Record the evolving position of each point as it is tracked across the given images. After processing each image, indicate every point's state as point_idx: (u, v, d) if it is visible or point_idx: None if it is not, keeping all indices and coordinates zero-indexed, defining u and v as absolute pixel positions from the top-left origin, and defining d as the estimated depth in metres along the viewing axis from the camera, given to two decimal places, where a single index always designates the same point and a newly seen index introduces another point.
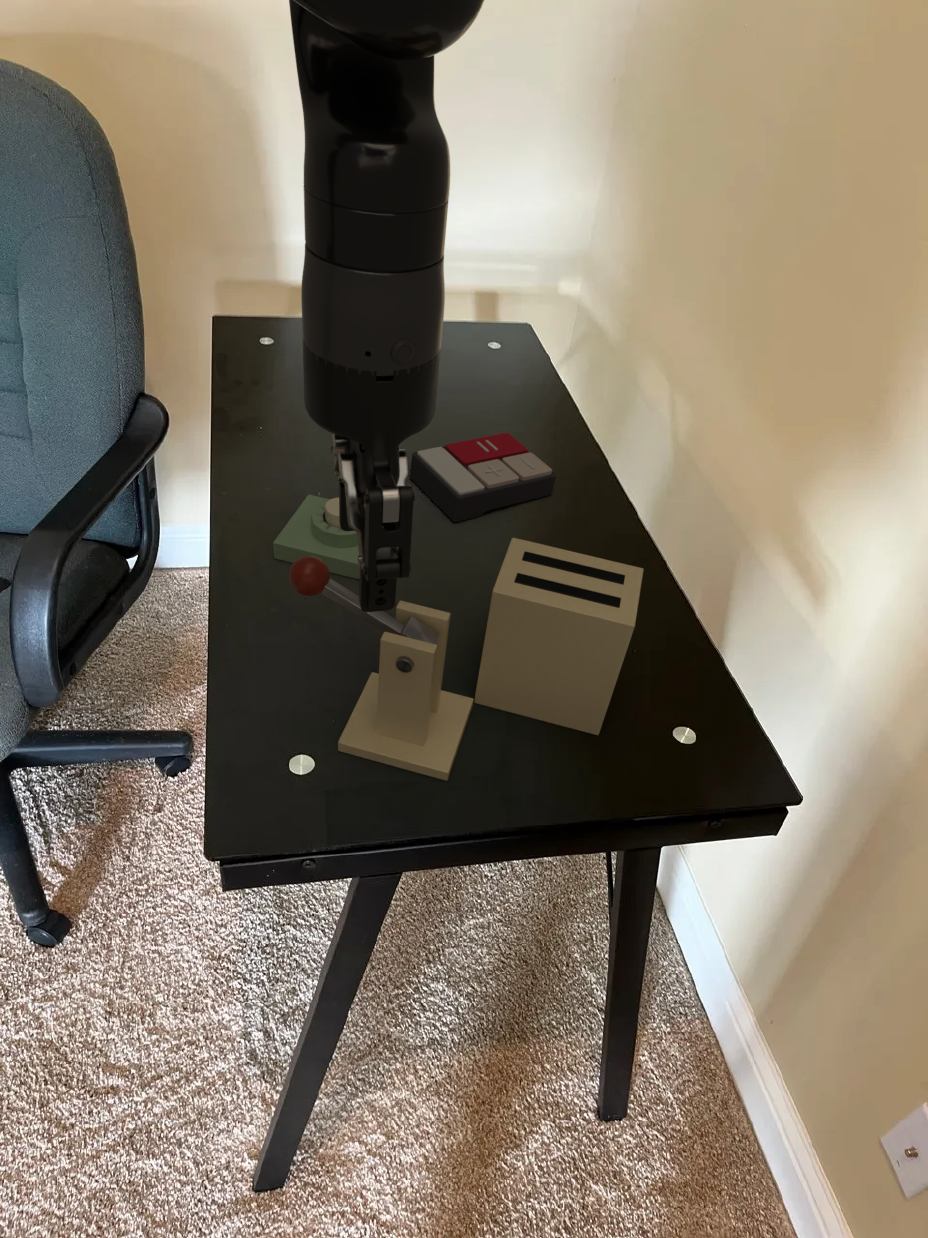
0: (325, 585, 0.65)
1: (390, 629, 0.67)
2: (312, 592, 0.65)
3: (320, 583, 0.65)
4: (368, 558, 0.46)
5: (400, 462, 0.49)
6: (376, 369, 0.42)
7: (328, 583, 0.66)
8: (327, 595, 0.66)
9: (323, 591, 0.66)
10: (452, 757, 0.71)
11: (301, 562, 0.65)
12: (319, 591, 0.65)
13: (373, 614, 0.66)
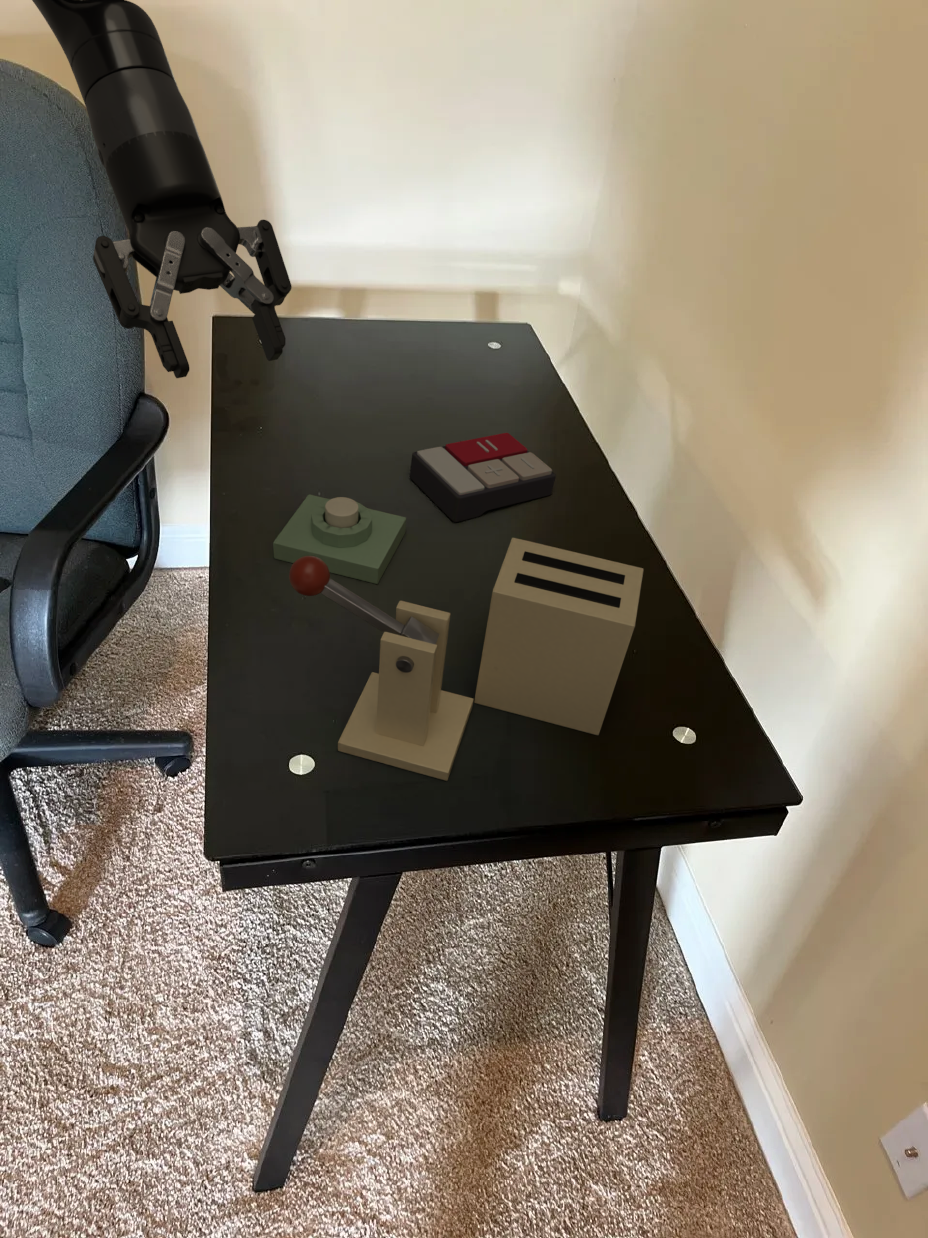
0: (325, 585, 0.65)
1: (390, 629, 0.67)
2: (312, 592, 0.65)
3: (320, 583, 0.65)
4: (285, 270, 0.66)
5: None
6: None
7: (328, 583, 0.66)
8: (327, 595, 0.66)
9: (323, 591, 0.66)
10: (452, 757, 0.71)
11: (301, 562, 0.65)
12: (319, 591, 0.65)
13: (373, 614, 0.66)
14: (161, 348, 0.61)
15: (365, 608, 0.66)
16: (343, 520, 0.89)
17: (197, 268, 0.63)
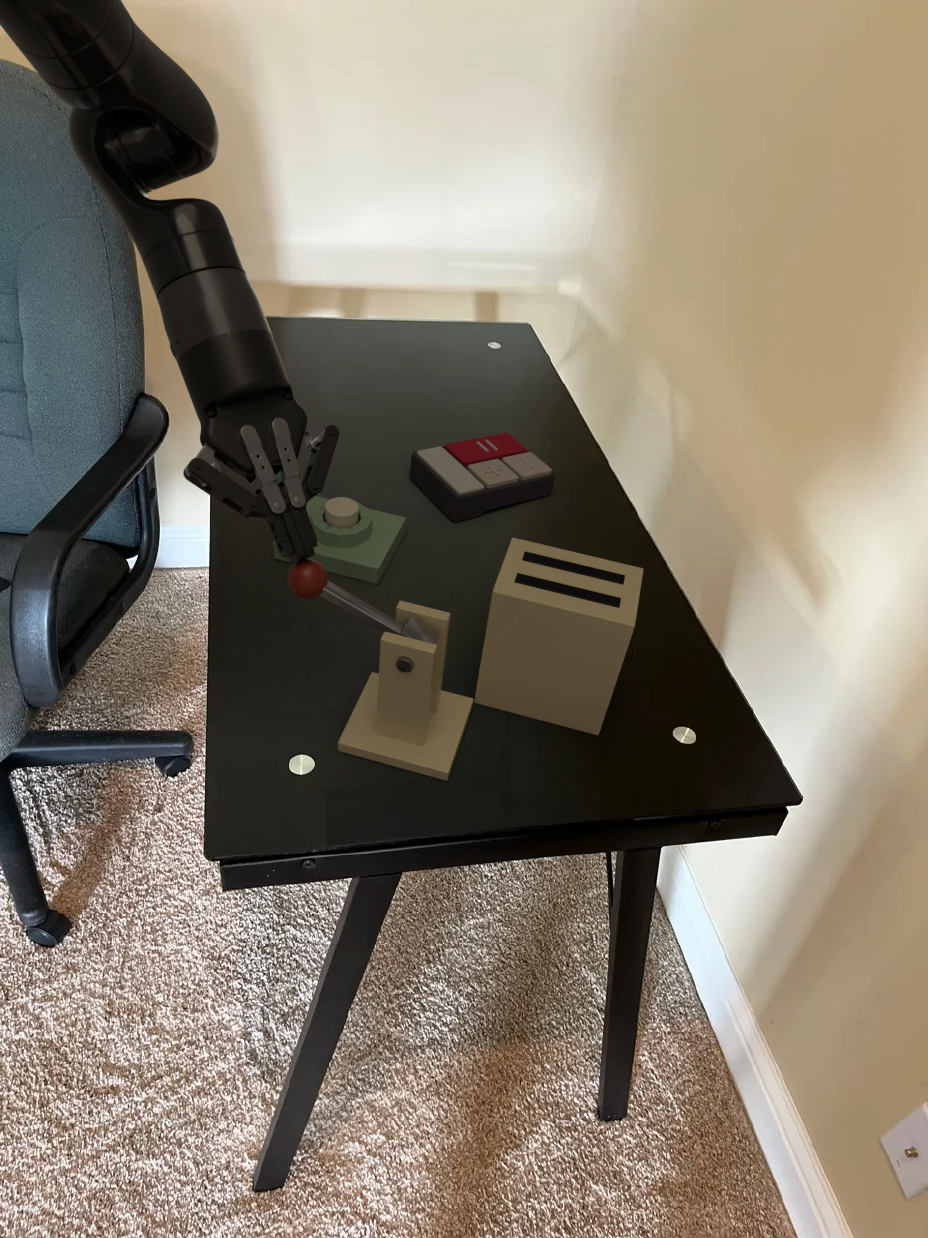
0: (323, 587, 0.65)
1: (389, 629, 0.67)
2: (310, 595, 0.65)
3: (318, 585, 0.65)
4: (326, 475, 0.65)
5: None
6: None
7: (326, 586, 0.66)
8: (326, 597, 0.66)
9: (321, 594, 0.66)
10: (452, 757, 0.71)
11: (299, 565, 0.65)
12: (317, 594, 0.66)
13: (372, 615, 0.66)
14: (279, 539, 0.64)
15: (364, 609, 0.66)
16: (343, 520, 0.89)
17: (267, 458, 0.63)
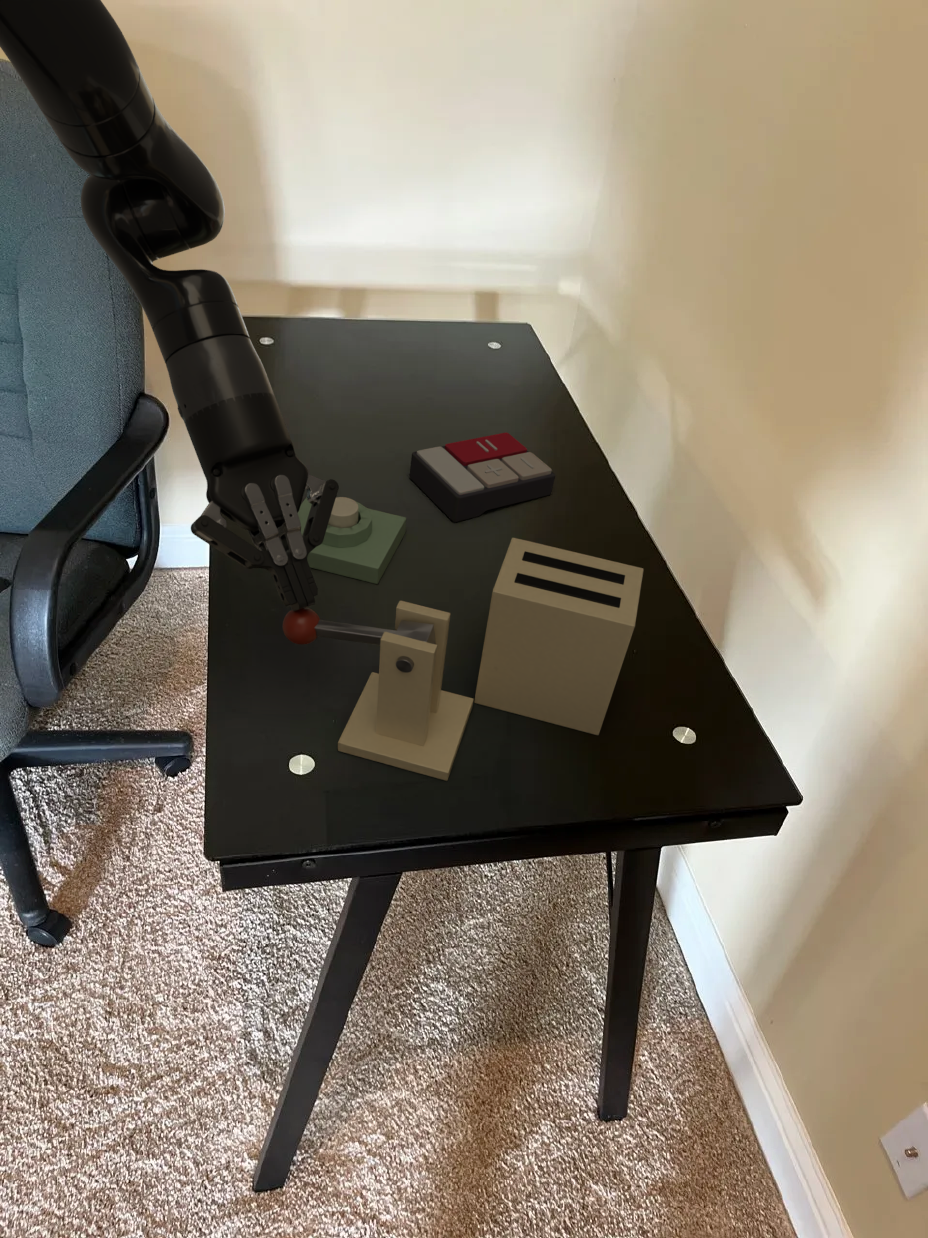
0: (314, 627, 0.69)
1: None
2: (305, 638, 0.69)
3: (307, 626, 0.68)
4: (326, 527, 0.69)
5: None
6: None
7: (317, 624, 0.69)
8: (322, 635, 0.69)
9: (317, 634, 0.69)
10: (452, 757, 0.71)
11: (286, 616, 0.69)
12: (312, 634, 0.69)
13: (365, 633, 0.68)
14: (282, 589, 0.67)
15: (356, 631, 0.68)
16: (343, 520, 0.89)
17: (270, 513, 0.67)
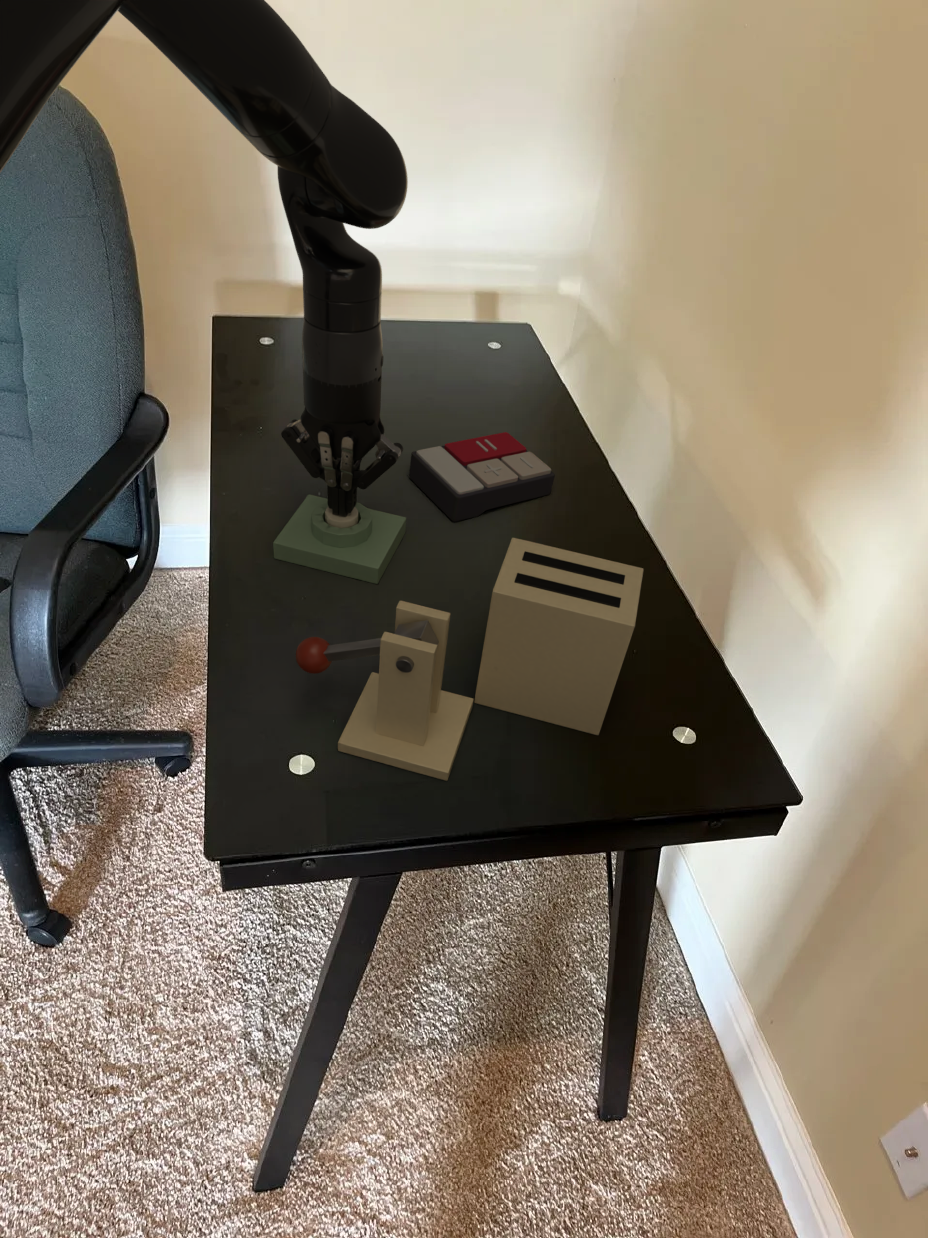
0: (323, 652, 0.70)
1: None
2: (317, 665, 0.70)
3: (316, 653, 0.70)
4: (372, 481, 0.85)
5: None
6: (377, 375, 0.78)
7: (326, 650, 0.71)
8: (332, 659, 0.71)
9: (328, 659, 0.71)
10: (452, 757, 0.71)
11: None
12: (322, 660, 0.70)
13: (368, 645, 0.69)
14: (328, 496, 0.89)
15: (360, 646, 0.69)
16: (343, 526, 0.90)
17: (336, 452, 0.84)
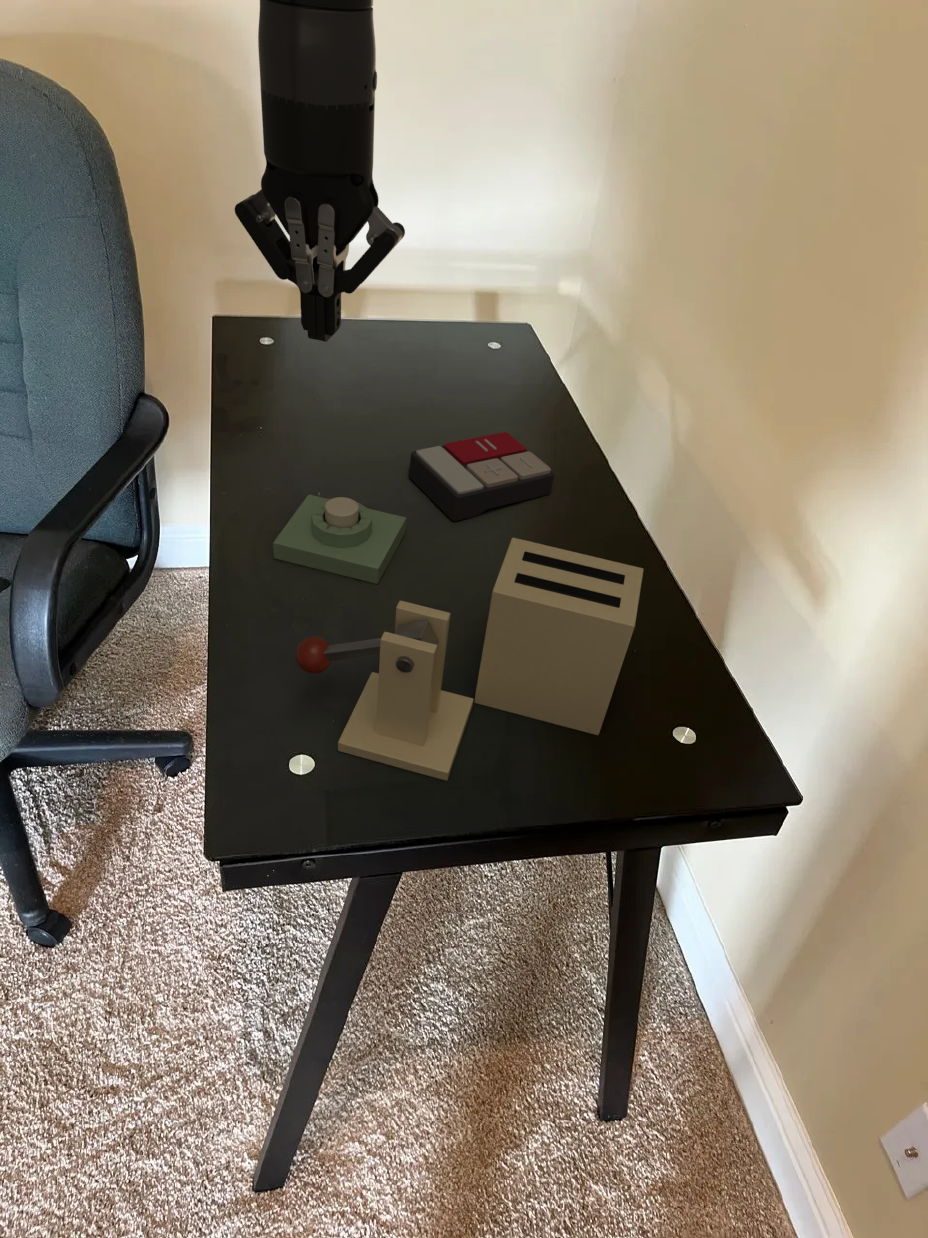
0: (323, 652, 0.70)
1: None
2: (317, 665, 0.70)
3: (316, 653, 0.70)
4: (362, 279, 0.61)
5: None
6: (368, 100, 0.54)
7: (326, 650, 0.71)
8: (332, 659, 0.71)
9: (328, 659, 0.71)
10: (452, 757, 0.71)
11: None
12: (322, 660, 0.70)
13: (368, 645, 0.69)
14: (301, 311, 0.65)
15: (360, 646, 0.69)
16: (343, 520, 0.89)
17: (311, 235, 0.60)
